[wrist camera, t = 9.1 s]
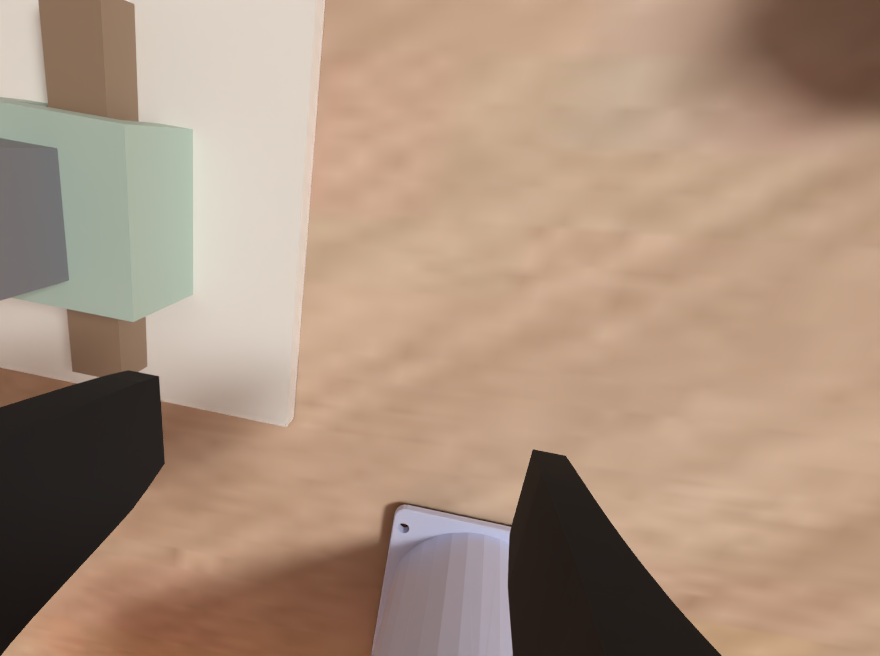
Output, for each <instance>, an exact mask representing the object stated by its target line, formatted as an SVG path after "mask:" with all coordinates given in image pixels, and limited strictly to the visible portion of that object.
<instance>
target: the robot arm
mask: <svg viewBox="0 0 880 656" xmlns="http://www.w3.org/2000/svg"><path fill="white" fill-rule="evenodd" d="M164 464H165V462H164V446H163V431H162V415H161V399H160V383H159V376H155V375H150V374H145V373H140V372H135V371H130V370H127V371H123V372H118V373H114V374H110V375H106V376H102V377H99V378H95V379H92V380H88V381H85V382H81V383H78V384H75V385H71V386H68V387H65V388H62V389H59V390H55V391H52V392H49V393H46V394H42V395H39V396H36V397H33V398H30V399H26V400H23V401H20V402H17V403H14V404H10V405H7V406H4V407H1V408H0V656H1V655H2V653H3V652H4V651H5V650H6V648H7V647H8V646H9V645H10V643H11V642H12V641H13V640H14V639H15V638H16V636H17V635H18V634H19V633H20V632H21V631H22V630H23V628H24V627H25V626H26V625H27V624H28V623H29V621H30V620H31V619H32V618H33V617H34V616H35V615H36V614H37V613H38V611H39V610H40V609H41V608H42V607H43V606H44V605H45V604H46V603H47V602H48V601H49V600H50V598H51V597H52V596H53V595H54V594H55V593H56V592H57V591H58V590H59V589H60V588H61V587H62V586H63V584H64V583H65V582H66V581H67V580H68V579H69V578H70V577H71V576H72V575H73V574H74V573H75V571H76V570H77V569H78V568H79V567H80V566H81V565H82V564H83V563H84V562H85V561H86V560H87V559H88V557H89V556H90V555H91V554H92V553H93V552H94V551H95V550H96V549H97V548H98V547H99V546H100V544H101V543H102V542H103V541H104V540H105V539H106V538H107V537H108V536H109V535H110V533H111V532H112V531H113V530H114V529H115V528H116V527H117V526H118V525H119V524H120V522H121V521H122V520H123V519H124V518H125V517H126V516H127V515H128V513H129V512H130V511H131V510H132V509H133V508H134V506H135V505H136V503H137V502H138V501H139V499H140V498H141V497H142V495H143V494H144V493H145V491H146V490H147V489H148V487H149V486H150V484H151V483H152V481H153V480H154V478H155V477H156V475H157V474H158V472H159V471H160V469H161V468H162V466H163V465H164ZM401 523H404V524H407V525H408V527H403V526H401V525H400V524H401ZM371 656H721V655H720V654H719V653H718V651H717V650H716V649H715V648H714V647H713V646H712V645H711V644H710V643H709V642H708V641H707V640H706V638H705V637H704V636H703V635H702V634H701V633H700V632H699V631H698V630H697V629H696V628H695V627H694V625H693V624H692V623H691V622H690V621H689V620H688V619H687V618H686V617H685V615H684V614H683V613H682V612H681V611H680V610H679V609H678V607H677V606H676V605H675V604H674V603H673V602H672V600H671V599H670V598H669V597H668V596H667V594H666V593H665V592H664V591H663V590H662V588H661V587H660V586H659V585H658V583H657V582H656V581H655V580H654V578H653V577H652V576H651V575H650V574H649V572H648V571H647V570H646V569H645V567H644V566H643V565H642V564H641V562H640V561H639V560H638V558H637V557H636V556H635V554H634V553H633V552H632V551H631V549H630V548H629V547H628V545H627V544H626V543H625V541H624V540H623V539H622V537H621V536H620V534H619V533H618V532H617V530H616V529H615V528H614V526H613V525H612V523H611V522H610V521H609V519H608V518H607V516H606V515H605V513H604V512H603V511H602V509H601V508H600V506H599V505H598V503H597V502H596V500H595V499H594V497H593V496H592V494H591V493H590V491H589V490H588V488H587V487H586V485H585V484H584V482H583V481H582V479H581V478H580V476H579V475H578V473H577V472H576V470H575V469H574V467H573V466H572V464H571V463H570V462H569V460H568V459H567V457H566V456H563V455H558V454H553V453H548V452H543V451H538V450H533V451H532V455H531V458H530V462H529V466H528V469H527V473H526V476H525V480H524V483H523V487H522V491H521V494H520V498H519V501H518V505H517V508H516V512H515V516H514V519H513V523H512V526H511V527H510V526H505V525H500V524H496V523H491V522H486V521H482V520H477V519H472V518H468V517H463V516H458V515H454V514H449V513H444V512H440V511H435V510H430V509H425V508H421V507H416V506H411V505H401V506H399V507H398V508H397V509H396V511H395V515H394V520H393V526H392V532H391V538H390V544H389V550H388V556H387V562H386V568H385V574H384V580H383V586H382V592H381V598H380V604H379V610H378V616H377V622H376V628H375V634H374V641H373V647H372V653H371Z"/></svg>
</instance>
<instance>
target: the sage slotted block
mask: <svg viewBox="0 0 880 656" xmlns="http://www.w3.org/2000/svg"><path fill="white" fill-rule="evenodd" d="M191 295H193V129H188V128H183V127H177V126H171V125H166V124H160V123H149V122H138V121H126V120H118V119H112V118H107V117H101V116H96V115H90V114H84V113H79V112H73V111H68V110H62V109H56V108H51V107H48V103H42V102H37V101H31V100H23V99H14V98H5V97H0V301H1V300H4V299H7V298H15V299H20V300H25V301H30V302H35V303H40V304H45V305H50V306H55V307H60V308H65V309H70V310H75V311H80V312H85V313H90V314H95V315H100V316H105V317H110V318H115V319H120V320H125V321H130V322H135V321H137V320H139V319H141V318H143V317H146V316H148V315H150V314H152V313H154V312H156V311H159V310H161V309H163V308H165V307H167V306H169V305H172V304H174V303H176V302H178V301H180V300H182V299H185V298H187V297H189V296H191Z"/></svg>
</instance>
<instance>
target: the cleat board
mask: <svg viewBox="0 0 880 656" xmlns="http://www.w3.org/2000/svg"><path fill="white" fill-rule="evenodd" d="M324 10H325V0H0V97H5V98H14V99H23V100H31V101H37V102H42V103H48V107H51V108H56V109H62V110H68V111H73V112H79V113H84V114H90V115H96V116H101V117H107V118H112V119H118V120H126V121H138V122H149V123H160V124H166V125H171V126H177V127H183V128H188V129H193V295H191V296H189V297H187V298H185V299H182V300H180V301H178V302H176V303H174V304H172V305H169V306H167V307H165V308H163V309H161V310H159V311H156V312H154V313H152V314H150V315H148V316H146V317H143V318H141V319H139V320H137V321H135V322H130V321H125V320H120V319H115V318H110V317H105V316H100V315H95V314H90V313H85V312H80V311H75V310H70V309H65V308H60V307H55V306H50V305H45V304H40V303H35V302H30V301H25V300H20V299H15V298H7V299H4V300H1V301H0V368H5V369H9V370H14V371H19V372H24V373H29V374H33V375H38V376H43V377H48V378H53V379H57V380H62V381H67V382H72V383H77V384H78V383H81V382H85V381H88V380H92V379H95V378H99V377H102V376H106V375H110V374H114V373H118V372H123V371H127V370H130V371H135V372H140V373H145V374H150V375H155V376H159V383H160V399H161V401H163V402H168V403H173V404H177V405H182V406H187V407H192V408H197V409H201V410H206V411H211V412H216V413H221V414H225V415H230V416H235V417H240V418H245V419H249V420H254V421H259V422H264V423H269V424H273V425H278V426H283V427H287V426H288V424H289V423H290V422H291V421H292V419H293V418H294V407H295V394H296V381H297V368H298V354H299V341H300V328H301V315H302V301H303V288H304V275H305V262H306V248H307V235H308V222H309V209H310V195H311V182H312V169H313V156H314V143H315V129H316V116H317V103H318V90H319V76H320V63H321V50H322V37H323V23H324Z"/></svg>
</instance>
